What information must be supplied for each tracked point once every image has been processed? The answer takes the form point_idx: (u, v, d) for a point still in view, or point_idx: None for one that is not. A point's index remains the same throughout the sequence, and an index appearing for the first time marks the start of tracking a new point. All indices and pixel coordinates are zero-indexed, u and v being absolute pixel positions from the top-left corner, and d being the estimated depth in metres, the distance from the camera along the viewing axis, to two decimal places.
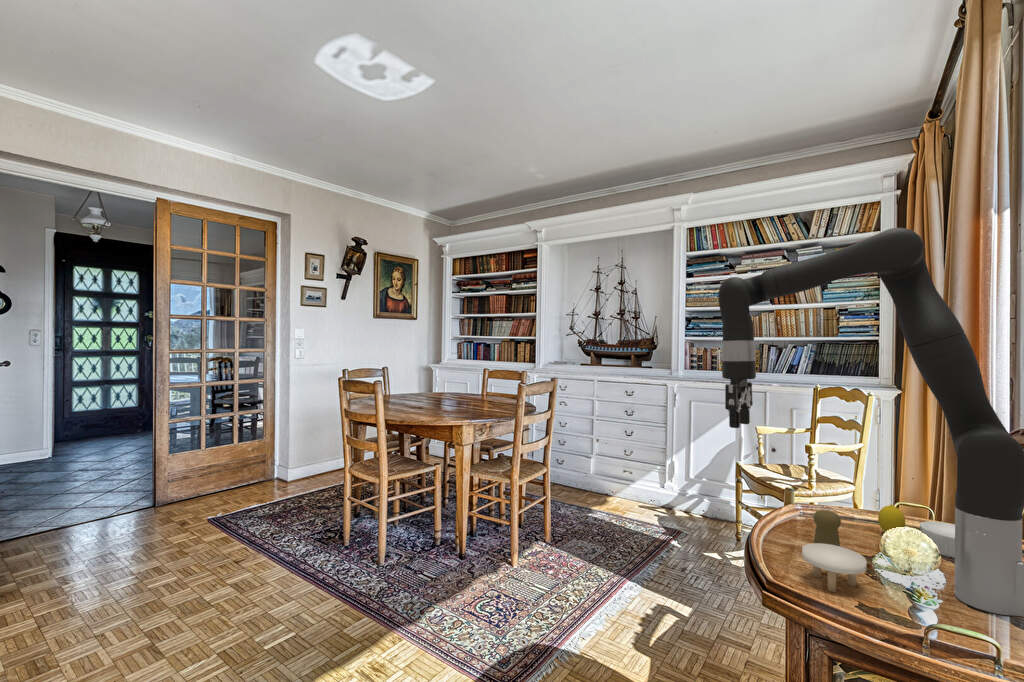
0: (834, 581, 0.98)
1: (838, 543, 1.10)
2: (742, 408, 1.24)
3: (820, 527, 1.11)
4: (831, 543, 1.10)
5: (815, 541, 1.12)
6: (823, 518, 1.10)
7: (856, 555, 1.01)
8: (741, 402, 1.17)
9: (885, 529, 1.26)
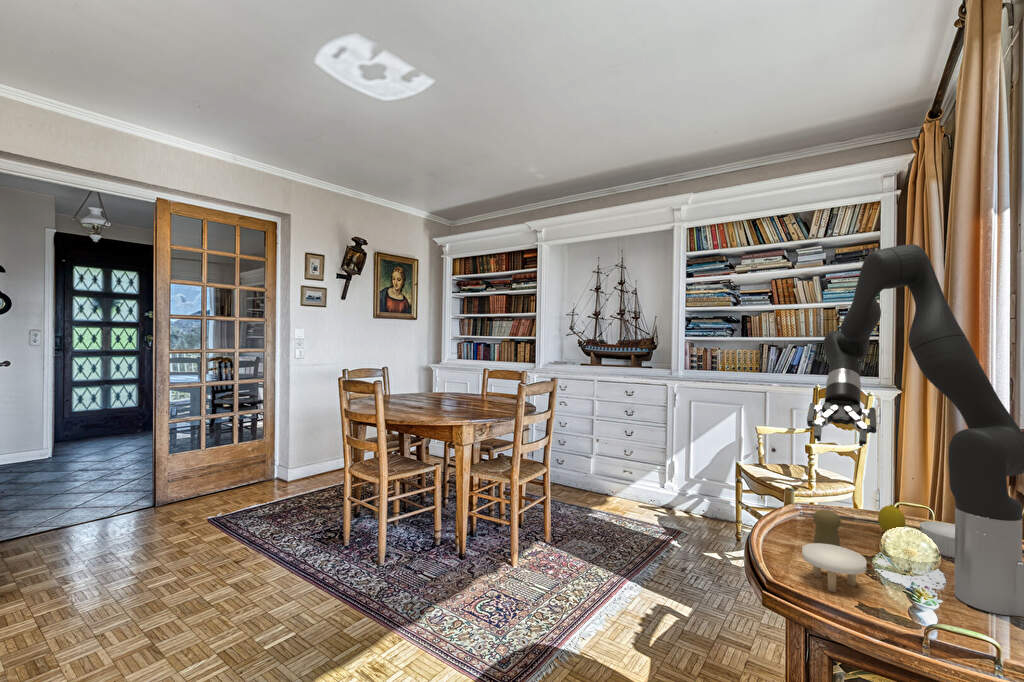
0: (834, 581, 0.98)
1: (838, 543, 1.10)
2: None
3: (820, 527, 1.11)
4: (831, 543, 1.10)
5: (815, 541, 1.12)
6: (823, 518, 1.10)
7: (856, 555, 1.01)
8: (822, 416, 1.24)
9: (885, 529, 1.26)
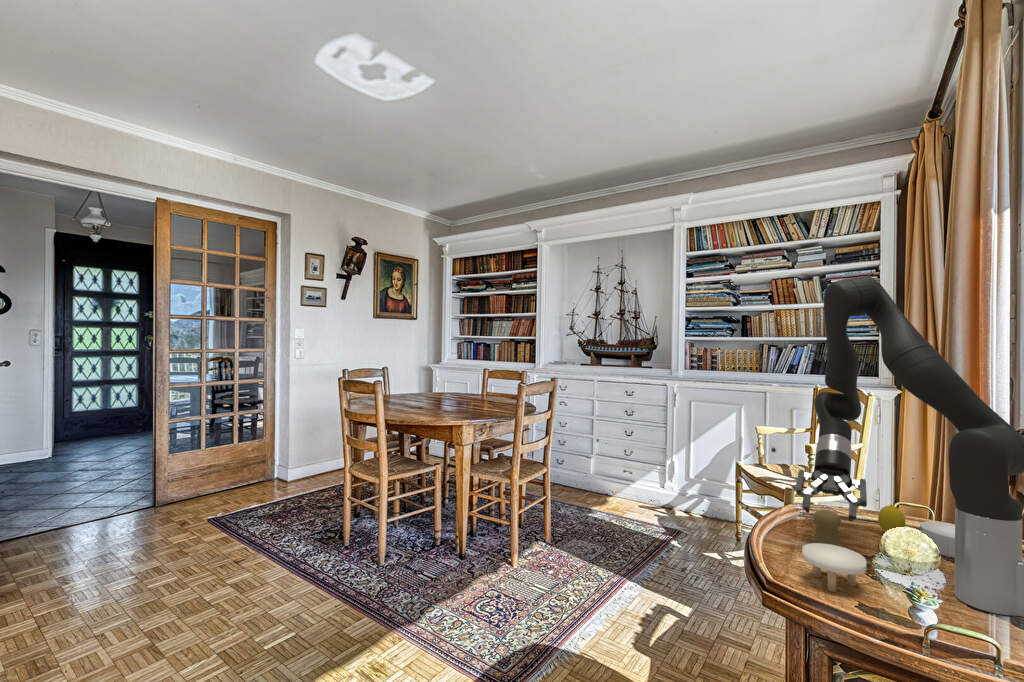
0: (834, 581, 0.98)
1: (838, 543, 1.10)
2: None
3: (820, 527, 1.11)
4: (831, 543, 1.10)
5: (815, 541, 1.12)
6: (823, 518, 1.10)
7: (856, 555, 1.01)
8: (811, 486, 1.20)
9: (885, 529, 1.26)
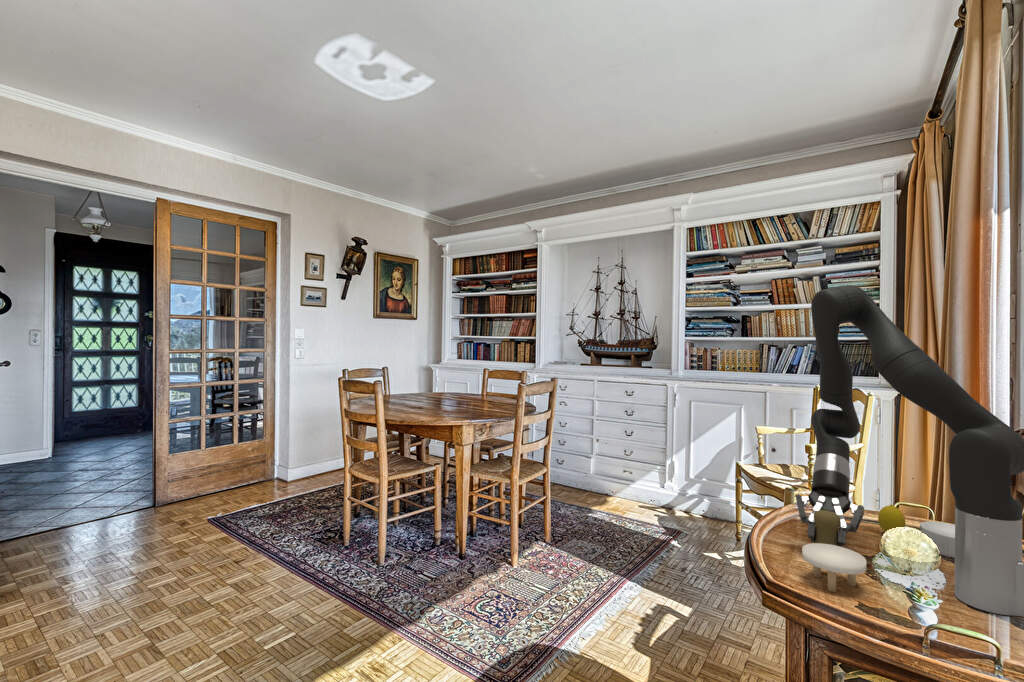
0: (834, 581, 0.98)
1: None
2: None
3: (820, 527, 1.11)
4: (831, 543, 1.10)
5: (815, 541, 1.12)
6: (822, 518, 1.10)
7: (856, 555, 1.01)
8: (814, 511, 1.15)
9: (885, 529, 1.26)
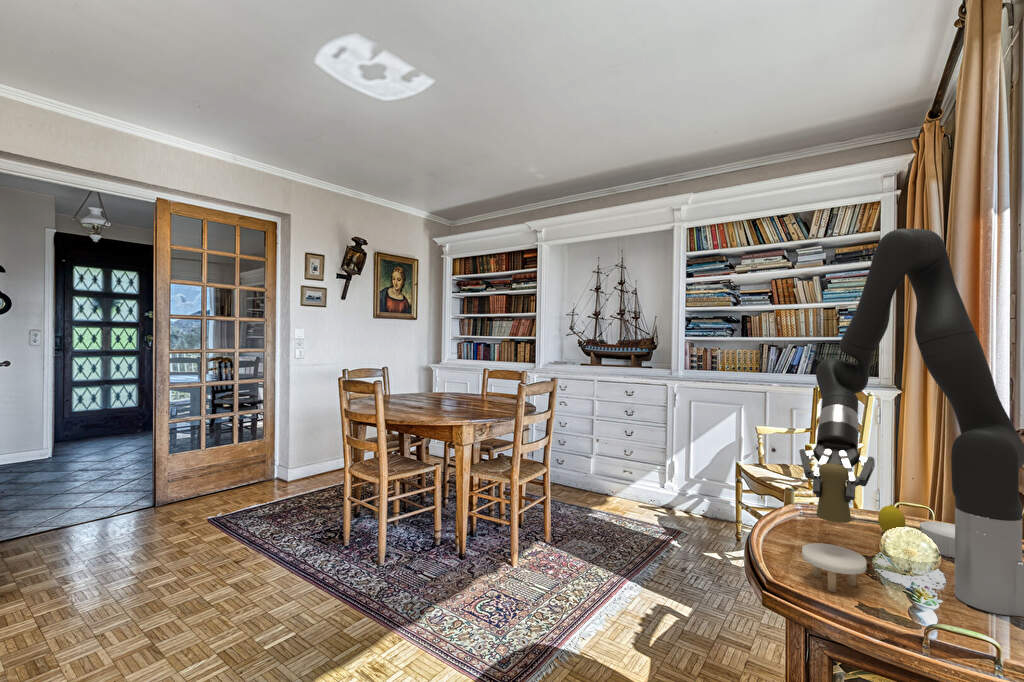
0: (834, 581, 0.98)
1: None
2: None
3: (825, 480, 1.02)
4: (838, 497, 1.00)
5: (820, 496, 1.02)
6: (829, 470, 1.01)
7: (856, 555, 1.01)
8: (819, 465, 1.05)
9: (885, 529, 1.26)
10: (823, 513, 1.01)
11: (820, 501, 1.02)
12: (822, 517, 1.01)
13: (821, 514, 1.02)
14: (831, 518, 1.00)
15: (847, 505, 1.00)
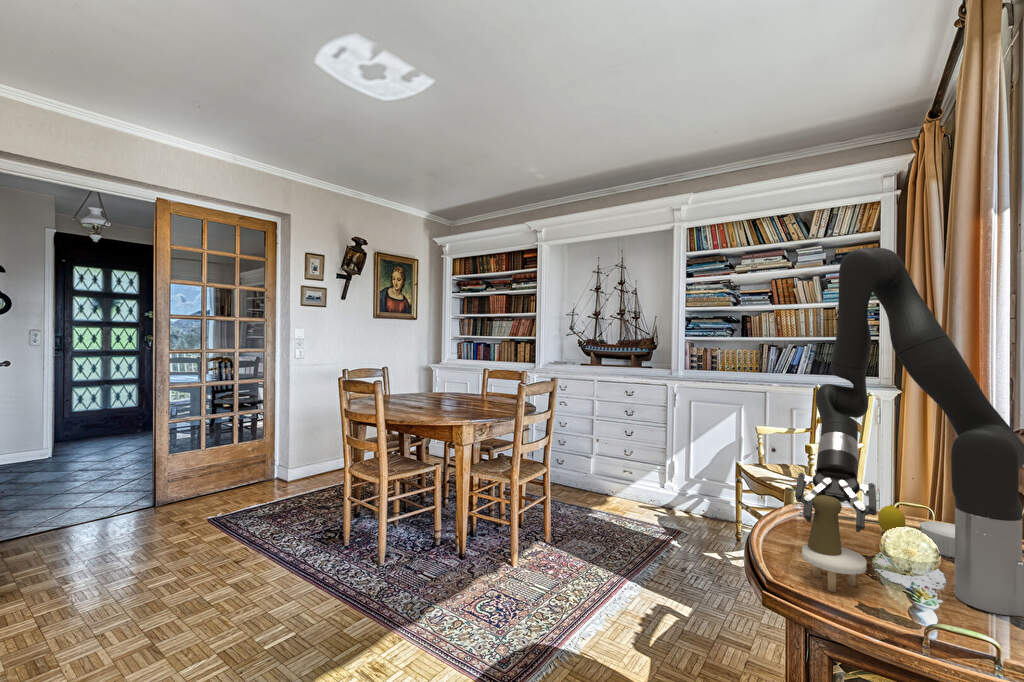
0: (834, 581, 0.98)
1: (837, 530, 1.01)
2: None
3: (818, 512, 1.03)
4: (830, 530, 1.01)
5: (812, 527, 1.04)
6: (822, 503, 1.02)
7: (856, 555, 1.01)
8: (813, 491, 1.05)
9: (885, 529, 1.26)
10: (814, 544, 1.02)
11: (812, 532, 1.04)
12: (813, 548, 1.03)
13: (812, 545, 1.03)
14: (822, 550, 1.01)
15: (838, 538, 1.01)
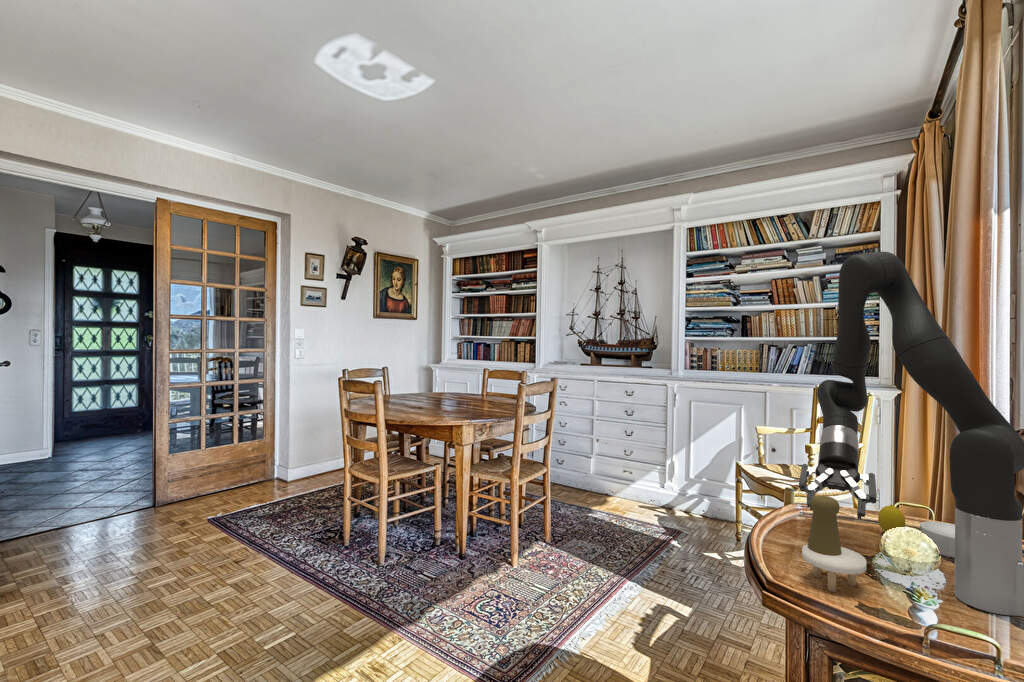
0: (834, 581, 0.98)
1: (836, 531, 1.01)
2: None
3: (816, 513, 1.03)
4: (828, 530, 1.01)
5: (811, 529, 1.04)
6: (819, 504, 1.02)
7: (856, 555, 1.01)
8: (816, 481, 1.11)
9: (885, 529, 1.26)
10: (813, 545, 1.03)
11: (811, 533, 1.04)
12: (813, 549, 1.03)
13: (812, 546, 1.03)
14: (821, 551, 1.01)
15: (837, 538, 1.01)
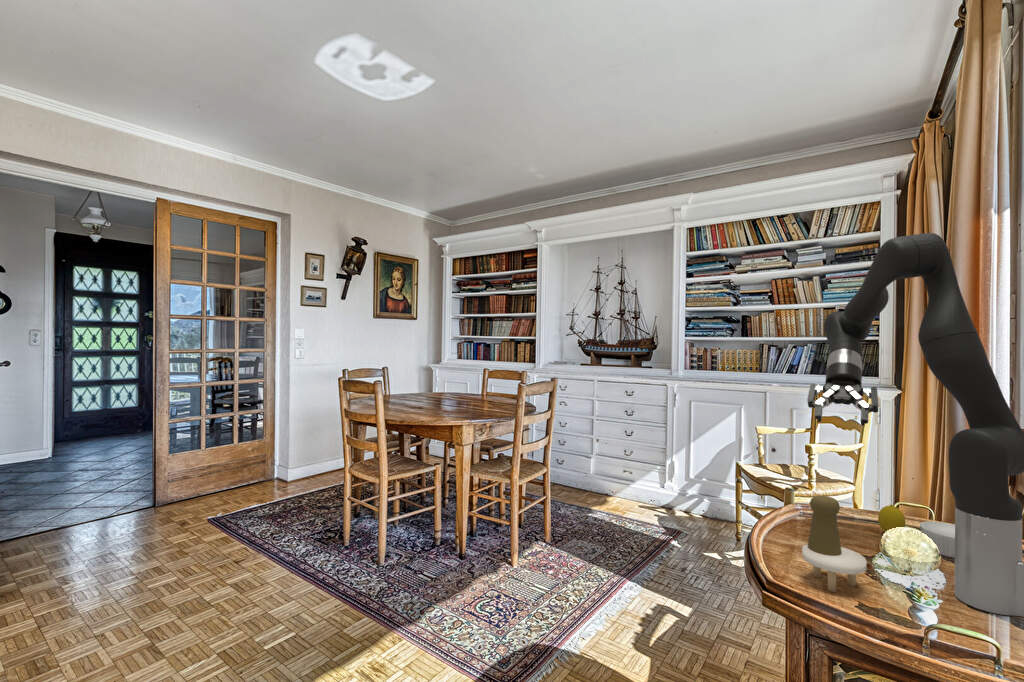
0: (834, 581, 0.98)
1: (836, 531, 1.01)
2: None
3: (816, 513, 1.03)
4: (828, 530, 1.01)
5: (811, 528, 1.04)
6: (819, 504, 1.02)
7: (856, 555, 1.01)
8: (823, 396, 1.22)
9: (885, 529, 1.26)
10: (814, 545, 1.03)
11: (811, 533, 1.04)
12: (813, 549, 1.03)
13: (812, 546, 1.03)
14: (821, 551, 1.01)
15: (837, 538, 1.01)
